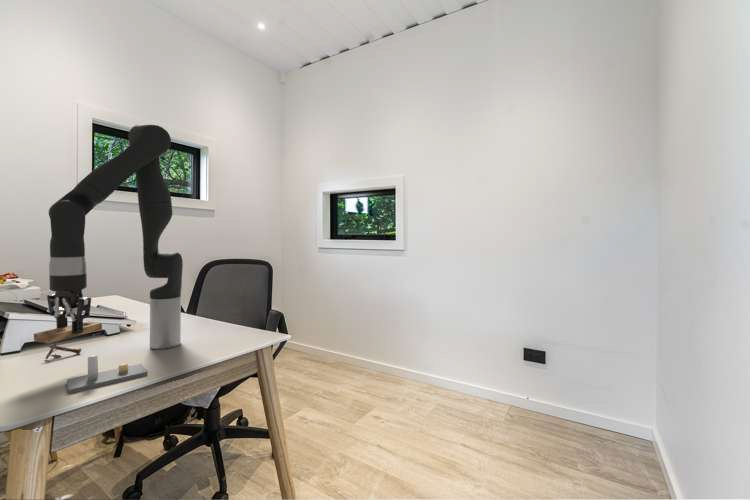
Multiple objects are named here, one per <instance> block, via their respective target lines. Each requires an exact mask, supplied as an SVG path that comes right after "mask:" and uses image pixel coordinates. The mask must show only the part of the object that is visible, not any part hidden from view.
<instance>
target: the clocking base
mask: <svg viewBox="0 0 750 500" xmlns="http://www.w3.org/2000/svg"><path fill="white" fill-rule="evenodd" d="M98 359H99V355H98V354H91V355H89V356H87V374H85V375H80V376H77V377H76V376H75V377H71V378H66V384H67V392H68V394H74V393H77V392H82V391H85V390H90V389H93V388H98V387H102V386H107V385H111V384H115V383H116V384H117V383H119V382H124V381H128V380H132V379H136V378H142V377H145V376H148V370H147V369H146V368H145V367H144V365H143V364H142V363H137V364H131V365H129V363H126V362H125V363H122V364H119V365H118V368H117V367H116V368H114V369H108V370H104V371H99V360H98Z"/></svg>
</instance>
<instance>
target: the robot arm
mask: <svg viewBox="0 0 750 500" xmlns="http://www.w3.org/2000/svg"><path fill="white" fill-rule="evenodd" d="M128 142H129V143H128V145H129V146H127V148H125V149H124V150H123V151H121V152H120V153H119V154H117V155H116V156H115V157H112V158H111V159H109V160H108V161H105V162H104V163H102V164H101V165H99V166H97V167H96V168H95V169H93V170H92V171H91V172H90V173H88V174H87V175H86V176H85V177H84V178H83V179H82V180H80V181H79V182H78V183H77V184H76V186H75V187H74V188H73V189H71V190H70V191H69V192H68V193H66V194H65V195H63V196H62V197H61V198H59V200H57V201H56V202H54V203H53V204H52V205H51V206H50V207H49V209H48V217H49V219H50V231H51V232H50V234H51V237H50V240H49V241H50V242H49V264H48V271H49V272H48V275H49V278H48V279H49V290H50V291H51V292H55V293H52V294H48V295H46V299H47V306H48V311H49V313H48V314H49V316H52V317H53V318H54V319H55V320H56V322H55V323H56V324H55V325H56V328H61V327H65V326H69V325H68V317H67V316H68V315H70V318H71V325H72V333H73V334H79V333H82V332H83V322H84V319H87V318H89V317H90V311H91V304H92V297H91V296H88V297H87V296H86V297H85V296H84V294H83V291H82V290H84V289H86V288H87V285H88V283H87V262H86V257H85V256H86V254H85V252H86V250H85V247H86V246H85V245H86V244H85V229H86V216H87V215H88V214H89V213H90V212H91V211H92V210H93V209H94V208H95V207H96V206H97V205H100V204H101V203H102V202H104V201H105V200H106V199H107V198H108V197H110V196H111V195H112V194H113V192H115V191H116V190H117V189H118V188H119V187H120V186H121V185H122V184H124V183H125V182H126V181H127V180H128V179H129V178H131V177H132V176H133V175H134V174H135V179H136V181H135V182H136V190H137V200H138V201H137V202H138V209H139V215H140V216H139V217H140V222H141V229H142V230H141V231H142V249H143V250H142V253H143V255H142V256H143V257H142V259H143V260H142V261H143V269H144V273H145V274H146V277H148V278H151V279H167V280H166V281H167V282H166V283H165V284H163V285H160V286H159V287H155V288H153V289H150V292H149V348H150V349H152V350H153V349H154V350H163V349H169V348H174V347H178V346H179V345H180V344H181V338H182V337H181V332H182V331H181V330H182V326H181V324H182V322H181V321H182V319H181V318H182V315H181V314H182V313H181V312H182V311H181V310H182V309H181V307H182V304H181V300H182V298H181V297H182V293H181V292H182V287H183V286H182V285H183V282H182V281H183V267H184V266H183V263H184V262H183V257H182V254H181V253H179V252H177V251H176V252H175V251H159V241H160V238H161V236H162V234H163V232H164V231H165V230H166V228H167V226H168V225H169V223H170V222H171V220H172V217H173V205H172V197H171V192H170V189H169V187H168V185H167V183H166V181H165V178H164V176H163V173H162V171H161V170H162V169H161V165H160V164H161V162H160V156H161V155H164V154H165V153H166V152H167V151H169V149H170V147H171V145H172V138H171V135H170V133H169V132H168V131H167V130H166V129H165V128H164V127H162V126H161V125H158V124H152V123H140V124H138V123H137V124H136V125H134V126H132V127H131V128H130V130H129V131H128Z"/></svg>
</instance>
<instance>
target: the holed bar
mask: <svg viewBox="0 0 750 500" xmlns="http://www.w3.org/2000/svg"><path fill="white" fill-rule="evenodd" d="M102 330H103V324H102V322H98V321H97V322H95V321H90V320H87V321H83V332H82V333H79V334H73V333H72V324H70V325H68V326H65V327H61V328H57V327H56V328H52V329H47V330H43V331H40V332H39V331H38V332H36V333H33V342H38V343H42V344H52V343H55V342H60V341H63V340H68V339H71V338H74V337H75V338H76V337H80V336H82V335H86V334H89V333H90V334H91V333H94V332H98V331H102Z"/></svg>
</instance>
